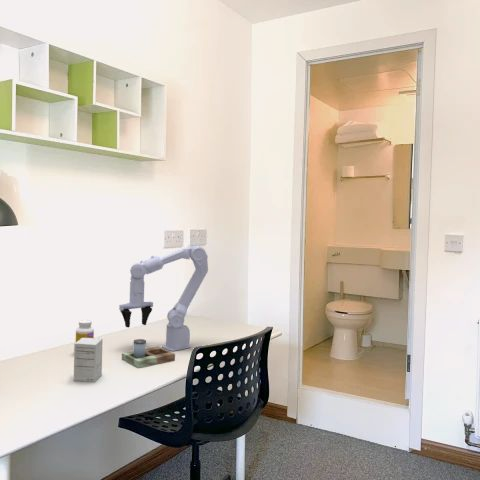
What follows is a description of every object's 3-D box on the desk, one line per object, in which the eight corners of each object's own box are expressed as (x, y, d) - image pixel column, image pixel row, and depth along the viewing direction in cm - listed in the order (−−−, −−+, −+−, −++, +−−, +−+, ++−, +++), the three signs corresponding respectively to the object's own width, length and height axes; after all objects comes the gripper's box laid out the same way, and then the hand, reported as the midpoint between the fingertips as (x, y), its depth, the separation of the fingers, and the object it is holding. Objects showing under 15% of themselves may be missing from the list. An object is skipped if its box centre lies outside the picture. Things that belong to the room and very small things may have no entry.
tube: (141, 359, 181) (142, 338, 181) (147, 362, 178) (148, 341, 178) (130, 361, 178) (131, 340, 178) (136, 364, 175) (137, 343, 174)
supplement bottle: (87, 357, 180) (88, 324, 180) (71, 355, 182) (72, 322, 181) (96, 352, 187) (97, 320, 186) (80, 350, 188) (81, 318, 188)
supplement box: (80, 373, 163) (81, 337, 162) (102, 374, 163) (103, 338, 162) (72, 381, 156) (73, 343, 155) (95, 382, 155) (96, 344, 155)
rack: (157, 352, 191) (157, 346, 190) (174, 360, 182) (175, 353, 182) (121, 359, 180) (121, 353, 180) (138, 368, 171) (138, 361, 171)
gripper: (147, 290, 201) (146, 321, 202) (116, 292, 192) (114, 326, 192) (156, 292, 196) (155, 325, 197) (124, 295, 186) (123, 329, 187)
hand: (135, 325), depth 194 cm, fingers open, 7 cm apart
